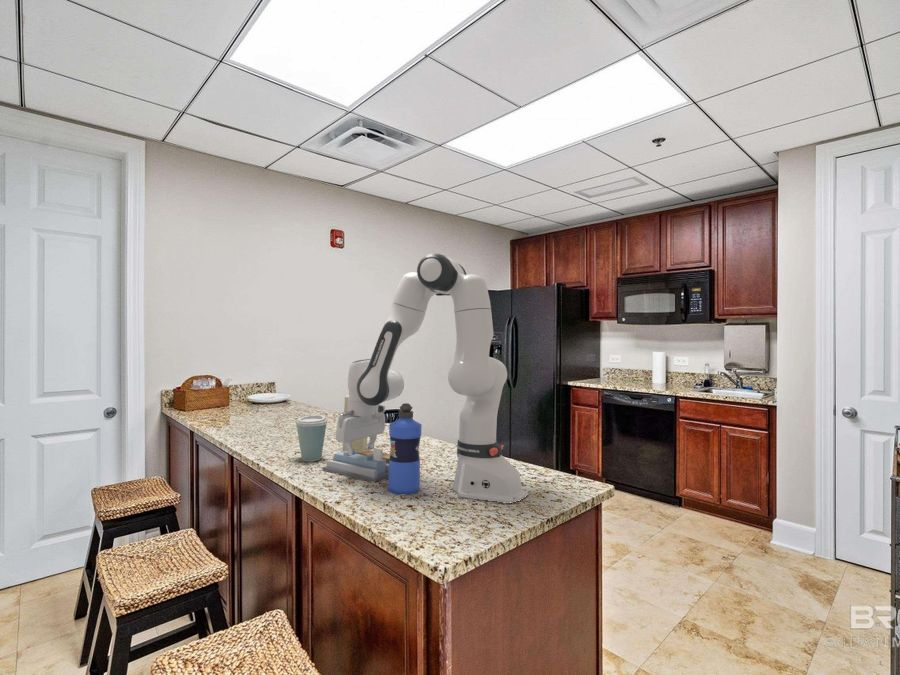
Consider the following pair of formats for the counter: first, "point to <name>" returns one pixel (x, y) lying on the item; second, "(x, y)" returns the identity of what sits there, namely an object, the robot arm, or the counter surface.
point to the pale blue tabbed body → (363, 460)
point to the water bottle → (404, 453)
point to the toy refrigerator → (357, 444)
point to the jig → (356, 471)
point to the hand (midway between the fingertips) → (361, 451)
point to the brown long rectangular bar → (367, 452)
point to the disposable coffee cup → (311, 436)
